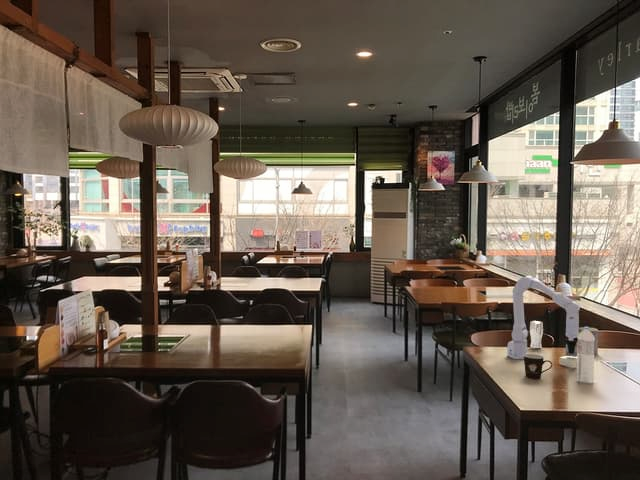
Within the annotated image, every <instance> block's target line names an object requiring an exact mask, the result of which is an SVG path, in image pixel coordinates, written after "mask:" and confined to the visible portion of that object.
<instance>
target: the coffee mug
mask: <svg viewBox="0 0 640 480" xmlns="http://www.w3.org/2000/svg"><path fill="white" fill-rule="evenodd" d="M523 362H524V363H523V364H524V371H525V372H524V373H525V378H527V379H529V380H536V381H537V380H541V378H542V375H543V373H545V372H547V371H549V370H551V369H552V368H553V362H552V361H551V360H548V359H547V360H544V356H543V355H542V354H541V355H540V354H537V353H536V354H534V353H527V354H525V355H524V359H523ZM547 362H548V363H550V366H549V368H546V369H544V370H543V365H544V364H545V363H547Z"/></svg>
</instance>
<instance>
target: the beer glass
mask: <svg viewBox="0 0 640 480" xmlns="http://www.w3.org/2000/svg"><path fill="white" fill-rule="evenodd" d="M529 323H530V324H529V333H530V334H529V335H530V341H531V342H530V348H531V349H535V348H541V349H543V347H542V337H543V333H544V327H543V325H544V323H543V321H539V320H537V321H536V320H532V321H530V322H529Z"/></svg>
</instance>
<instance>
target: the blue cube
mask: <svg viewBox="0 0 640 480" xmlns="http://www.w3.org/2000/svg"><path fill="white" fill-rule="evenodd" d="M577 352H578V344H576V346H575V350H574V354H570V353H569V351H568V346H567V343H566V344H565V356H572V357H577Z"/></svg>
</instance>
